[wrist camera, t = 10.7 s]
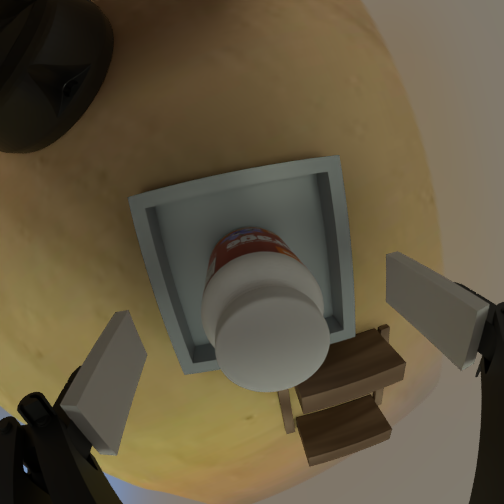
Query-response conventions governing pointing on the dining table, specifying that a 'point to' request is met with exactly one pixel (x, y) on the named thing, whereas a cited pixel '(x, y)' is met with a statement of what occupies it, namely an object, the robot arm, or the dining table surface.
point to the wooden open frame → (346, 397)
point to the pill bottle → (263, 312)
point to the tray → (239, 216)
